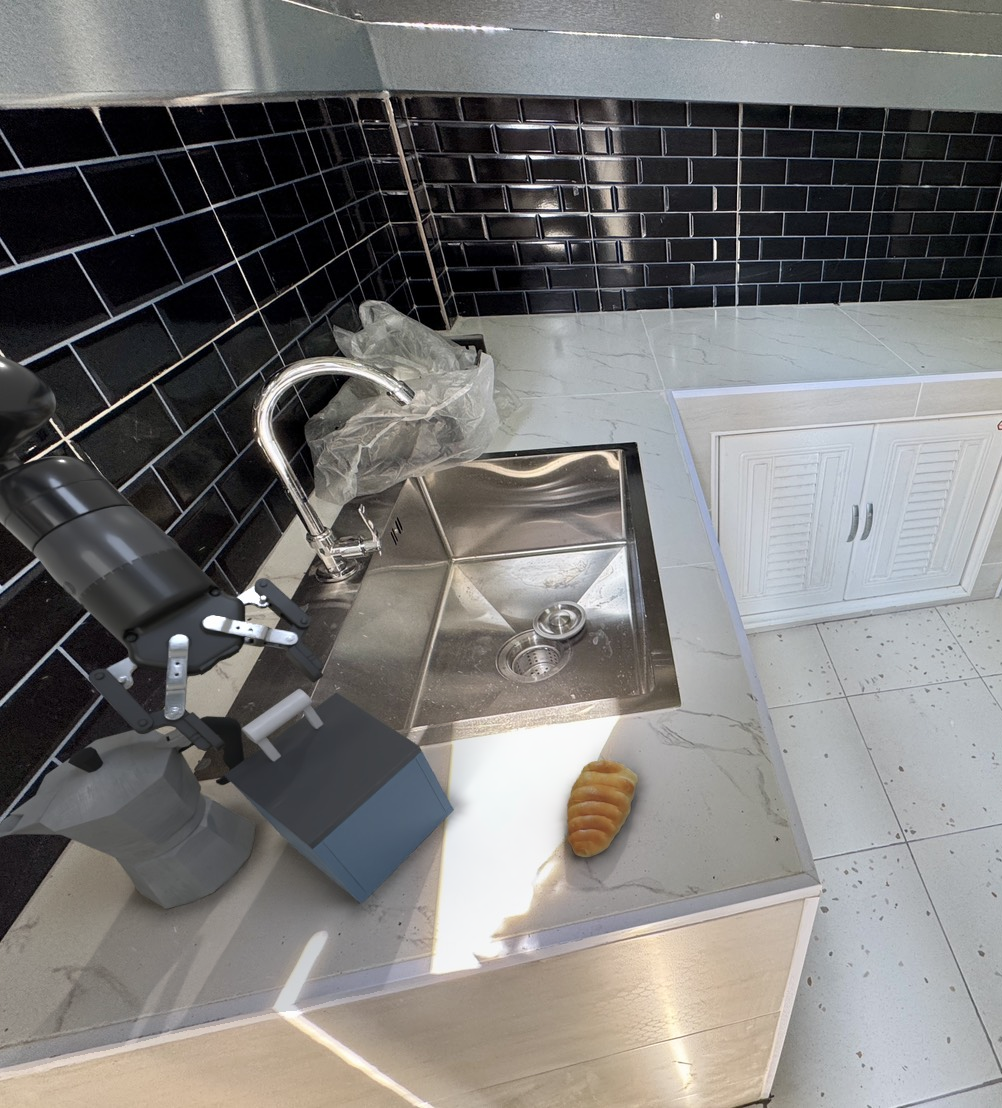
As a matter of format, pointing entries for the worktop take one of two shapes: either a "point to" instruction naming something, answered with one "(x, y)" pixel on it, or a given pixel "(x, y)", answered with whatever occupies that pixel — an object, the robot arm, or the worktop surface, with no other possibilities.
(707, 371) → the worktop surface
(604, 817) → the pastry
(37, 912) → the worktop surface
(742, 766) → the worktop surface
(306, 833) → the grey box lid
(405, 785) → the blue-grey box
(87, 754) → the coffeepot
